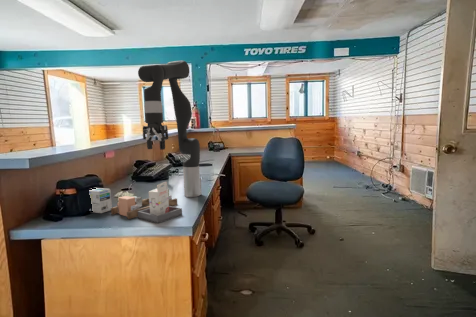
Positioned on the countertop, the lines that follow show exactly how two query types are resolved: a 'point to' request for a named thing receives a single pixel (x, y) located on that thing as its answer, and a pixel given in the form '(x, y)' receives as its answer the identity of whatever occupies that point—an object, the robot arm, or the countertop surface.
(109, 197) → the light bulb box
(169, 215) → the tray
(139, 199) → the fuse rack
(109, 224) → the countertop surface
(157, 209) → the ink cartridge box
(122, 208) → the terracotta block
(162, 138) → the robot arm
